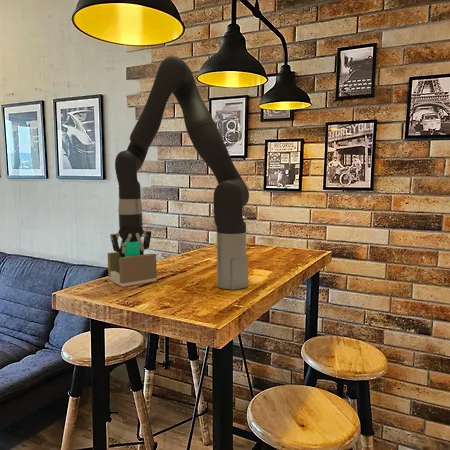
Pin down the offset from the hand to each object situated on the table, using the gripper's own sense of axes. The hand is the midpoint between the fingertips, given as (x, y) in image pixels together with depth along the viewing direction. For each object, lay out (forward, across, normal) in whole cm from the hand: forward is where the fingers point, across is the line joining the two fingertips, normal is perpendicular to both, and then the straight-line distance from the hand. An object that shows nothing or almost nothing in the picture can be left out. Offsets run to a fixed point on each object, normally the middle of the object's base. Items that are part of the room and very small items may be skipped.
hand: (132, 262), depth 138 cm
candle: (+3, 0, 0) cm, 3 cm away
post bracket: (+6, 0, 0) cm, 6 cm away
